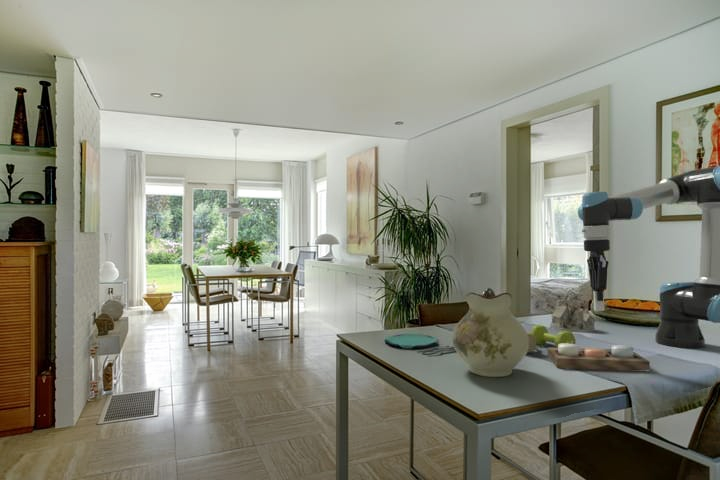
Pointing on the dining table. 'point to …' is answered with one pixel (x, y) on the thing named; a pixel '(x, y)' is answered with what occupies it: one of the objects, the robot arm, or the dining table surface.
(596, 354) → the terracotta button
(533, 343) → the ceramic mug
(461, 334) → the pitcher
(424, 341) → the cutlery set
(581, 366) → the wooden compartment tray
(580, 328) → the ceramic cottage
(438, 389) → the dining table surface
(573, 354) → the cream button
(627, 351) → the grey button
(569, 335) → the dumbbell
